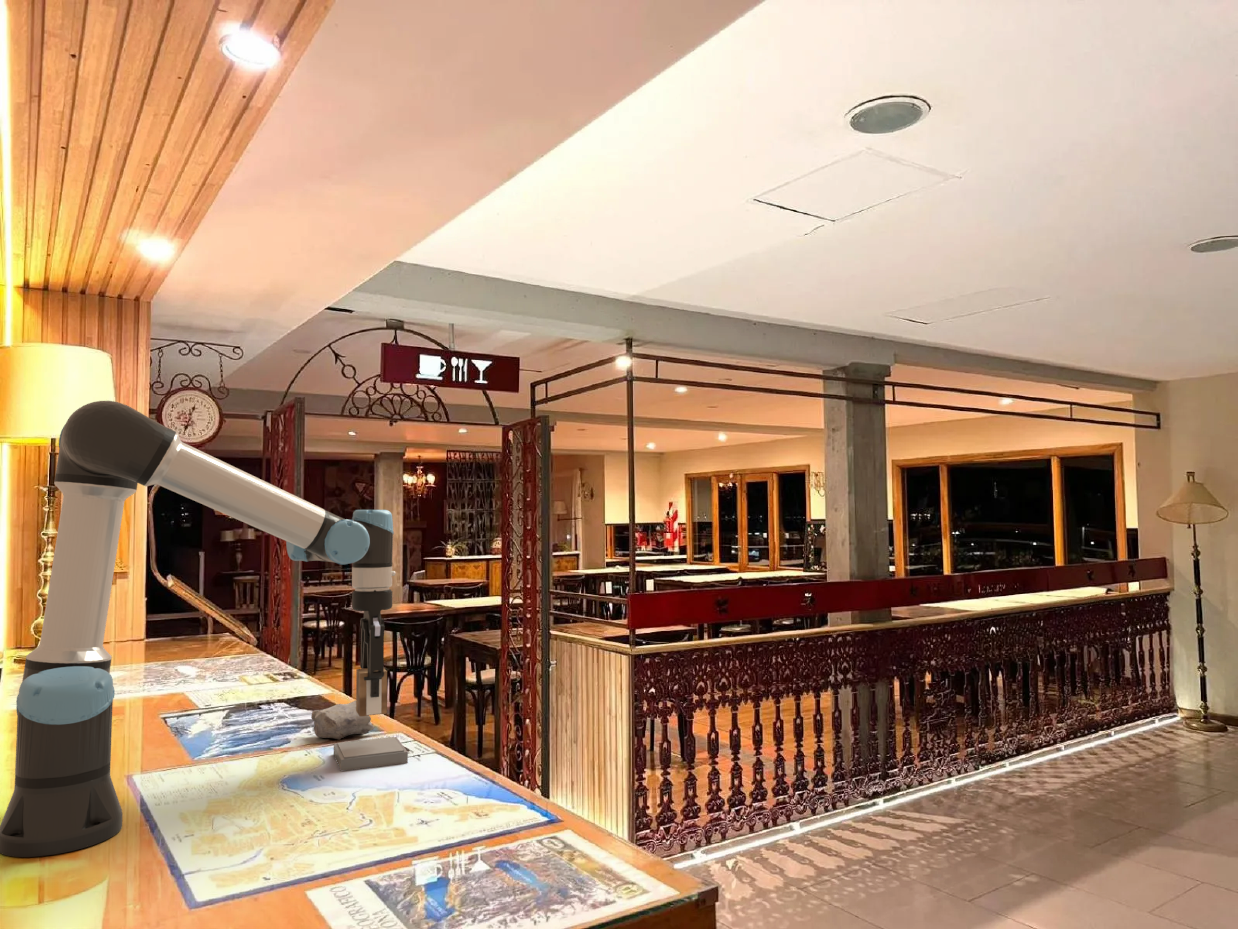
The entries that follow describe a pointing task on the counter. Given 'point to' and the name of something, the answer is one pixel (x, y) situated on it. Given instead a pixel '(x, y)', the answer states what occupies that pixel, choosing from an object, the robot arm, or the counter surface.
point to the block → (362, 692)
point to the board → (370, 753)
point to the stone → (340, 721)
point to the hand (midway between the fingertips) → (371, 710)
